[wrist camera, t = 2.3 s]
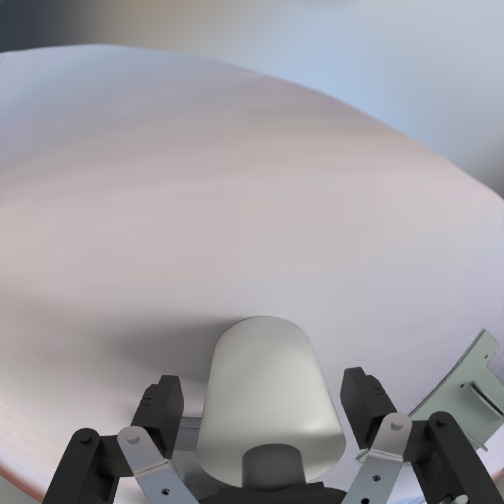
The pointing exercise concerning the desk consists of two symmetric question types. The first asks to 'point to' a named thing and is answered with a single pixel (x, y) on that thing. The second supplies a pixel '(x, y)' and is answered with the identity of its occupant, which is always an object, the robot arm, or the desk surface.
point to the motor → (193, 462)
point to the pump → (267, 409)
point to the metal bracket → (468, 395)
